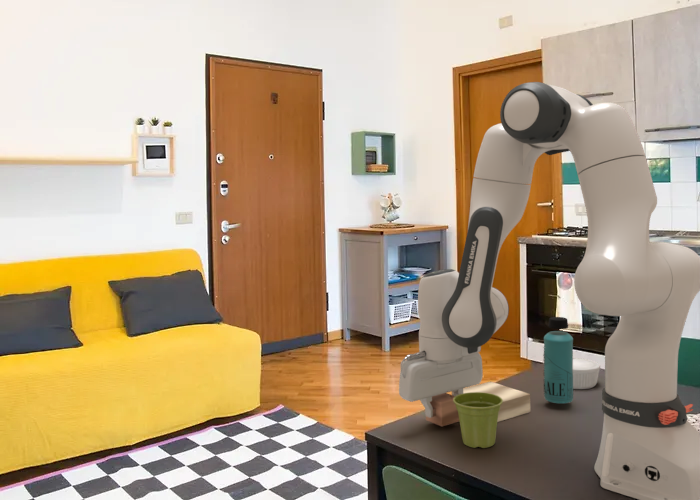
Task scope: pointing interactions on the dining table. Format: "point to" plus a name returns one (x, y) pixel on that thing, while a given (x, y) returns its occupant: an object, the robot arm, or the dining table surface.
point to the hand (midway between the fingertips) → (442, 412)
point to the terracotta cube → (444, 410)
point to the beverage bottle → (558, 363)
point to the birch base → (504, 399)
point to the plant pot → (478, 417)
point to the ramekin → (585, 373)
